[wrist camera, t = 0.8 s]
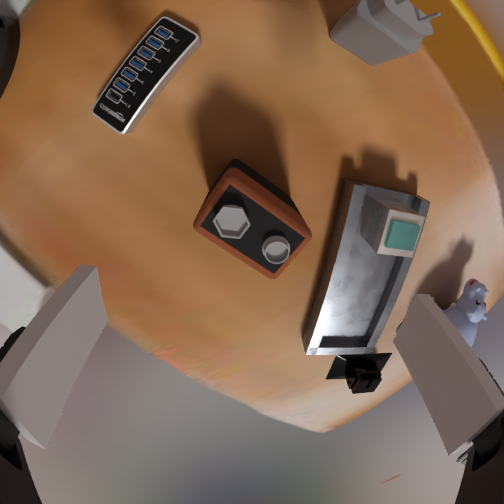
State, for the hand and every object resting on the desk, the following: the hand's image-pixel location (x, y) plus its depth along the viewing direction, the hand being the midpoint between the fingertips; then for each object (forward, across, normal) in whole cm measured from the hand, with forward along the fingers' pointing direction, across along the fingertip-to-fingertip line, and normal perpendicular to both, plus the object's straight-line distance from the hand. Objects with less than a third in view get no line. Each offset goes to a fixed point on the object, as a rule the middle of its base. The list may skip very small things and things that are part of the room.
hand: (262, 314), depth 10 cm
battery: (+17, 0, 0) cm, 17 cm away
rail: (+17, +13, -7) cm, 22 cm away
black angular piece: (+18, +19, -23) cm, 34 cm away
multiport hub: (+17, -11, +11) cm, 23 cm away
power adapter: (+17, +8, +17) cm, 26 cm away
